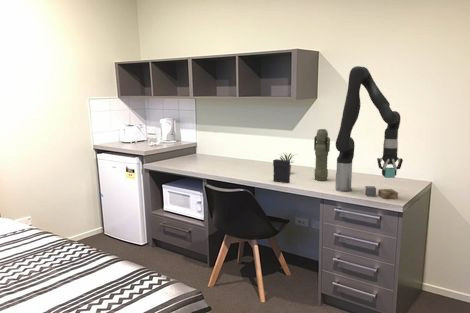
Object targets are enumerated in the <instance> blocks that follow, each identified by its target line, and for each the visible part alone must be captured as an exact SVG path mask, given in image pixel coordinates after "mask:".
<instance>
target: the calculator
mask: <svg viewBox="0 0 470 313" xmlns="http://www.w3.org/2000/svg"><path fill="white" fill-rule="evenodd" d="M272 163H273V164H272V166H273V182H277V183H283V184H284V183H285V184H288V183H290V181H291V180H290V179H291V171H290V165H291V160H290V161H288V159H287V160H286V159H285V160H284V159H283V160H281V159H279V158H278V159H276V158H275V159H273V160H272Z"/></svg>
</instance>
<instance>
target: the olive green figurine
mask: <svg viewBox="0 0 470 313" xmlns="http://www.w3.org/2000/svg"><path fill="white" fill-rule="evenodd" d="M313 141H314V142H313V146H314V147H313V151H314V155H315V168H314V181H316V180H317V182H326V181H328V176H329V175H328V174H329V170H328V157H329V152H330V151H331V150H330V149H331V147H330V145H331V138H330V137H329V133H328V130H327V129H325V128H320V129H317V131H316V135H315V136H314V140H313Z"/></svg>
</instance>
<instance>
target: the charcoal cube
mask: <svg viewBox="0 0 470 313" xmlns="http://www.w3.org/2000/svg"><path fill="white" fill-rule="evenodd" d="M365 196H366V197H377V187H376V186H375V185H374V186H373V185H365Z"/></svg>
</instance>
